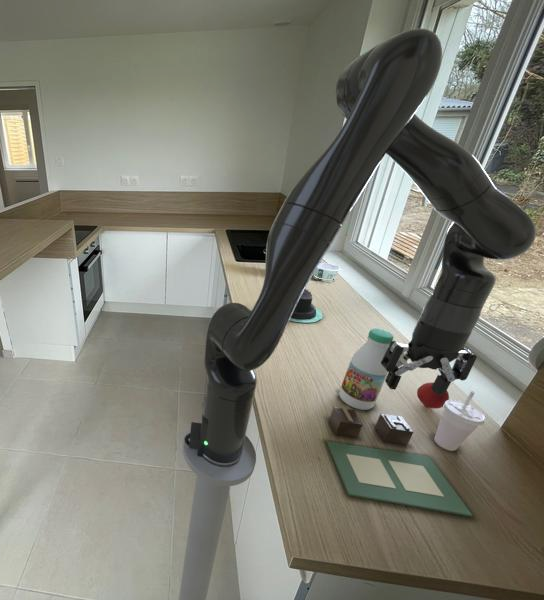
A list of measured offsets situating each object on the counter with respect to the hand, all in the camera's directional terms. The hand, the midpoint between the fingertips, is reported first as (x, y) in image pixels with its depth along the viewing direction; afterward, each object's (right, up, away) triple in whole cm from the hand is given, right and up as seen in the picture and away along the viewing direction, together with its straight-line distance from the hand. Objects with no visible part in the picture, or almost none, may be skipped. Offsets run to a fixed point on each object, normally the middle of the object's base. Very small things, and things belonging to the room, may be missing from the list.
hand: (412, 389), depth 67 cm
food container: (+36, +29, +97) cm, 107 cm away
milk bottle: (-2, -7, +16) cm, 17 cm away
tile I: (-10, -11, +7) cm, 17 cm away
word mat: (-7, -16, -4) cm, 18 cm away
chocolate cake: (+4, +14, +62) cm, 64 cm away
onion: (+15, -8, +14) cm, 23 cm away
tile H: (-1, -12, +5) cm, 13 cm away
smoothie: (+10, -13, +4) cm, 17 cm away
